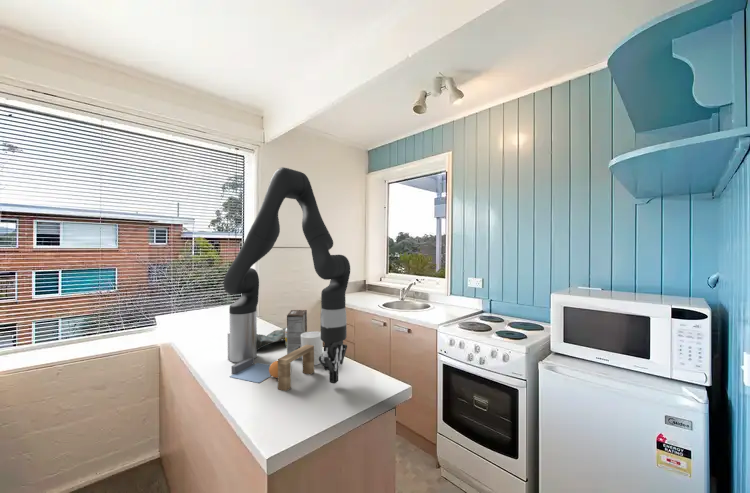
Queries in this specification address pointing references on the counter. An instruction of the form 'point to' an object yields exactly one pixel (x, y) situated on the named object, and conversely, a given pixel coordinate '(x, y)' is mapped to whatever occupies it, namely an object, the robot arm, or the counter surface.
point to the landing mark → (254, 373)
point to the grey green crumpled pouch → (270, 338)
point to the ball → (274, 369)
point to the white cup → (313, 343)
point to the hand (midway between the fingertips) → (333, 382)
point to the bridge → (285, 365)
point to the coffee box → (295, 329)
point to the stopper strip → (242, 365)
